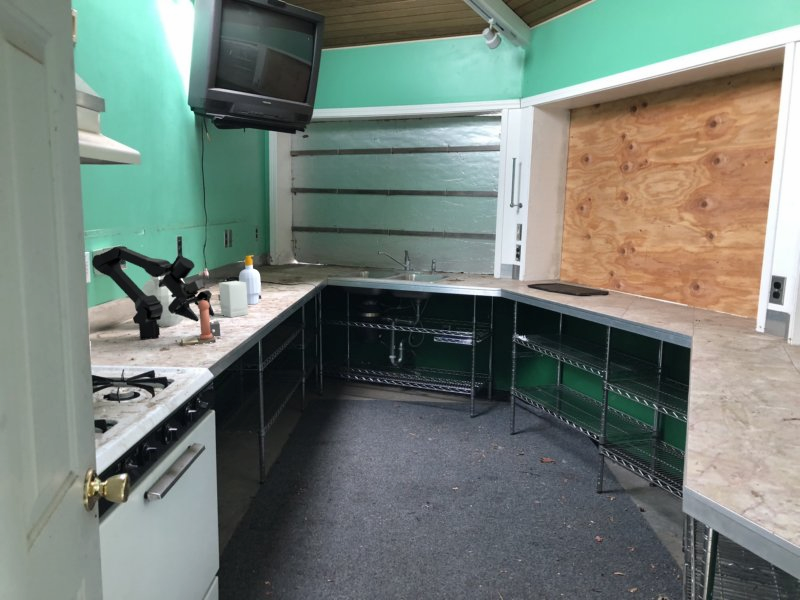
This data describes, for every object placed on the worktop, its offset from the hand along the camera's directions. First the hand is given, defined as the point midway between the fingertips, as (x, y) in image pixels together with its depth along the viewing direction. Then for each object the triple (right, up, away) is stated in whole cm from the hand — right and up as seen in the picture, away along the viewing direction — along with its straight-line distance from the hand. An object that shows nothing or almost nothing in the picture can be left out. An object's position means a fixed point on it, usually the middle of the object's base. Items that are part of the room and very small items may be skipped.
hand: (206, 318), depth 197 cm
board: (-3, -9, +1) cm, 9 cm away
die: (-1, -7, +10) cm, 13 cm away
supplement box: (-4, 0, +49) cm, 49 cm away
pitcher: (-27, -4, +32) cm, 42 cm away
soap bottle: (-4, +5, +76) cm, 77 cm away
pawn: (0, -7, +2) cm, 8 cm away
